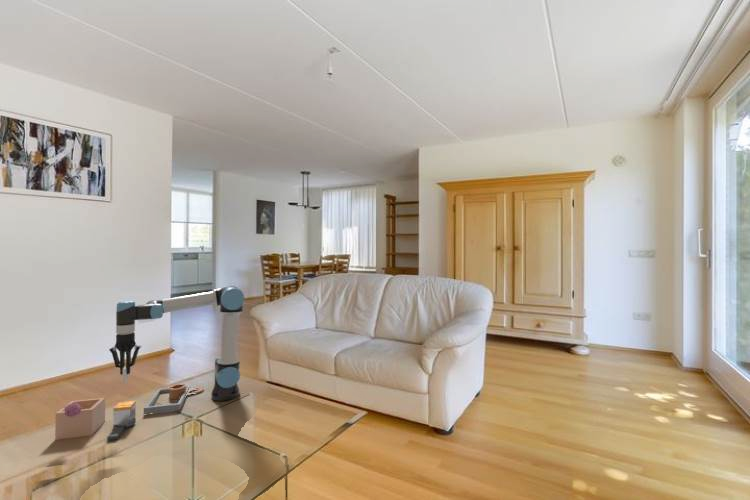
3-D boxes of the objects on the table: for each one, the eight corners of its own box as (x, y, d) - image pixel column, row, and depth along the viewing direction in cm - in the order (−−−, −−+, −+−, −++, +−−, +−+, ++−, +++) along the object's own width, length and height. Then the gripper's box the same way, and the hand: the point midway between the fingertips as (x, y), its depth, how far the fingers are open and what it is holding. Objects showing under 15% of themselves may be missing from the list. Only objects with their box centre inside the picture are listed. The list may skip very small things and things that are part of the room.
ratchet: (138, 420, 179) (138, 404, 179) (124, 439, 161) (124, 421, 161) (117, 423, 176) (117, 406, 176) (100, 442, 158) (100, 424, 158)
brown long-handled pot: (170, 402, 200) (170, 390, 200) (168, 397, 207) (168, 385, 206) (204, 395, 210) (204, 383, 210) (202, 390, 217) (202, 379, 217)
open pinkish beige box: (105, 421, 177) (105, 397, 178) (92, 435, 164) (92, 409, 164) (71, 425, 173) (71, 401, 173) (55, 439, 160) (55, 413, 160)
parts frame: (190, 392, 215) (190, 386, 215) (180, 411, 189) (180, 404, 189) (158, 395, 210) (158, 389, 210) (143, 415, 184) (143, 408, 184)
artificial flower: (86, 423, 172) (74, 418, 153) (70, 419, 170) (56, 414, 151) (95, 409, 176) (84, 402, 156) (80, 405, 174) (67, 398, 155)
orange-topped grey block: (135, 416, 177) (135, 400, 178) (130, 423, 171) (130, 406, 171) (119, 418, 175) (119, 402, 176) (113, 425, 169) (113, 408, 169)
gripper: (143, 330, 179) (142, 376, 179) (113, 332, 175) (112, 379, 175) (138, 333, 172) (137, 382, 172) (106, 335, 168) (106, 385, 168)
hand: (125, 380), depth 173 cm, fingers closed
